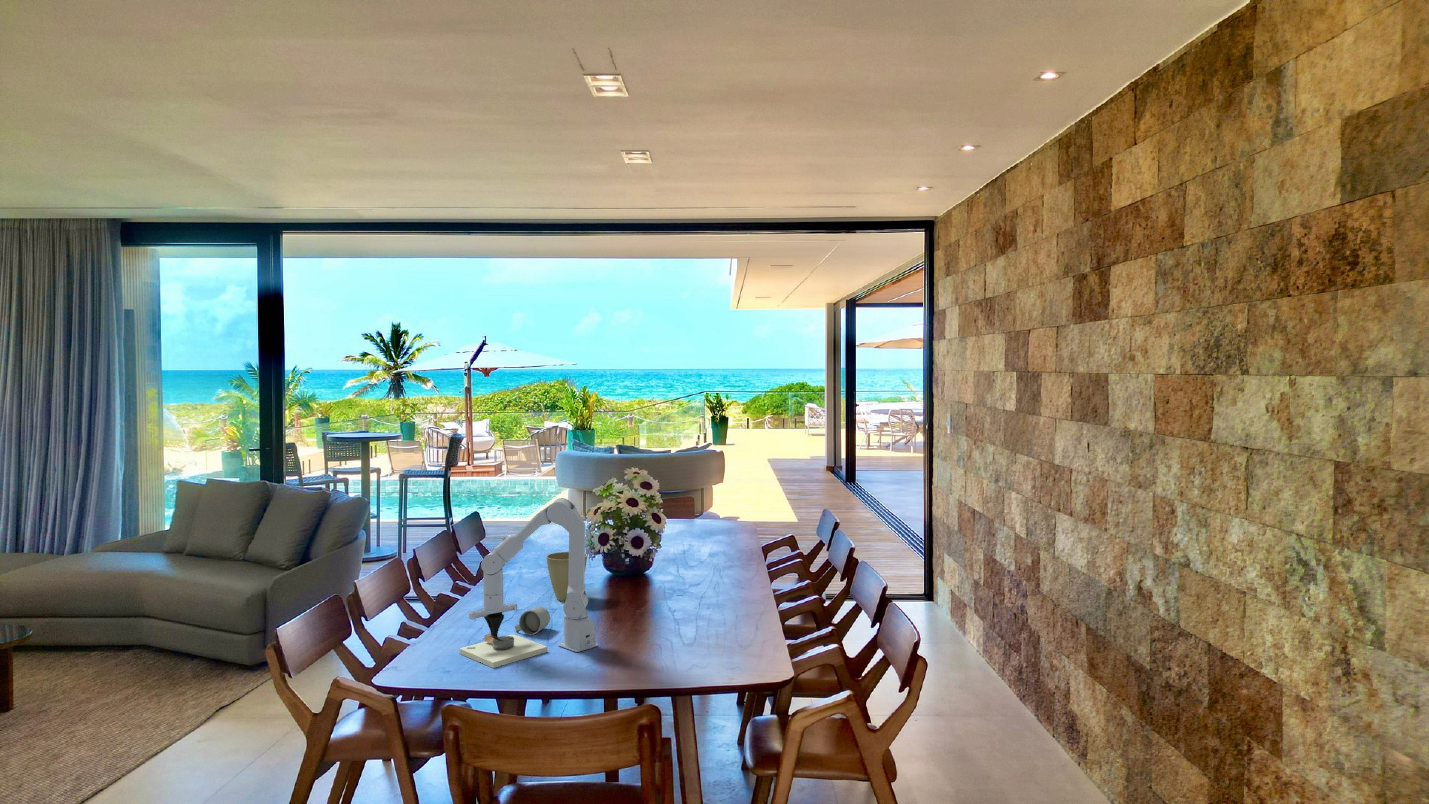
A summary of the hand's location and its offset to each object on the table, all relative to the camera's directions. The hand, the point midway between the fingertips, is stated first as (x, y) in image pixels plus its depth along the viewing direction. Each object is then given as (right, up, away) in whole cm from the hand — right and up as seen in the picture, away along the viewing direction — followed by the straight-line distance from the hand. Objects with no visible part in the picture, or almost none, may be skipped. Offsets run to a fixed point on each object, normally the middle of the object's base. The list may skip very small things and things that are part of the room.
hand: (494, 638), depth 231 cm
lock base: (+4, -3, -5) cm, 7 cm away
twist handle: (+2, -1, -3) cm, 4 cm away
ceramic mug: (+7, -3, +15) cm, 17 cm away
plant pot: (+11, -2, +55) cm, 56 cm away
